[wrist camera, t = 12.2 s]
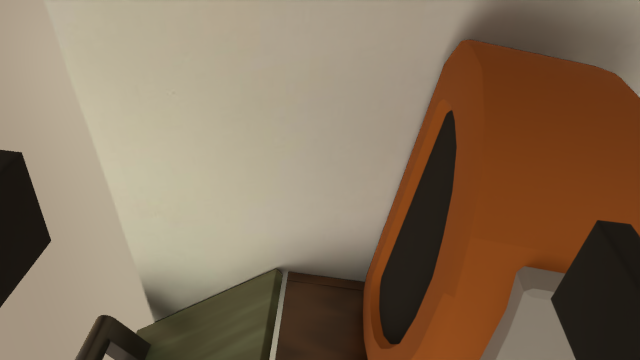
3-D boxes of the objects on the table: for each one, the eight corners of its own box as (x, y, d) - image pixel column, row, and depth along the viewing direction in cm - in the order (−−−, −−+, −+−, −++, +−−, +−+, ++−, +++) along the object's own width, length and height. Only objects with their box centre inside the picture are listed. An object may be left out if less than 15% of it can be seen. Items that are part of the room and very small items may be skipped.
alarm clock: (453, 16, 28) (544, 183, 15) (595, 47, 29) (809, 234, 15) (359, 277, 42) (362, 486, 28) (457, 294, 42) (504, 507, 29)
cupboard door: (95, 299, 46) (4, 462, 34) (236, 228, 39) (185, 399, 27) (144, 335, 49) (77, 496, 37) (283, 275, 42) (255, 447, 30)
